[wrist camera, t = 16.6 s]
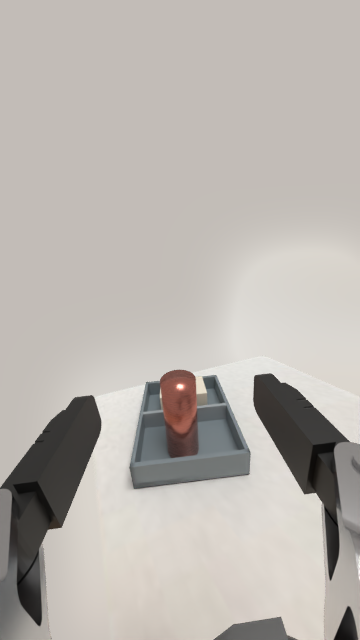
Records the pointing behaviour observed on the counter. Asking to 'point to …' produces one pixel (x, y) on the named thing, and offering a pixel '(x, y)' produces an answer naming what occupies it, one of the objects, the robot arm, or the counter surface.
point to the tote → (213, 433)
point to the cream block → (200, 392)
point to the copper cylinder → (180, 413)
